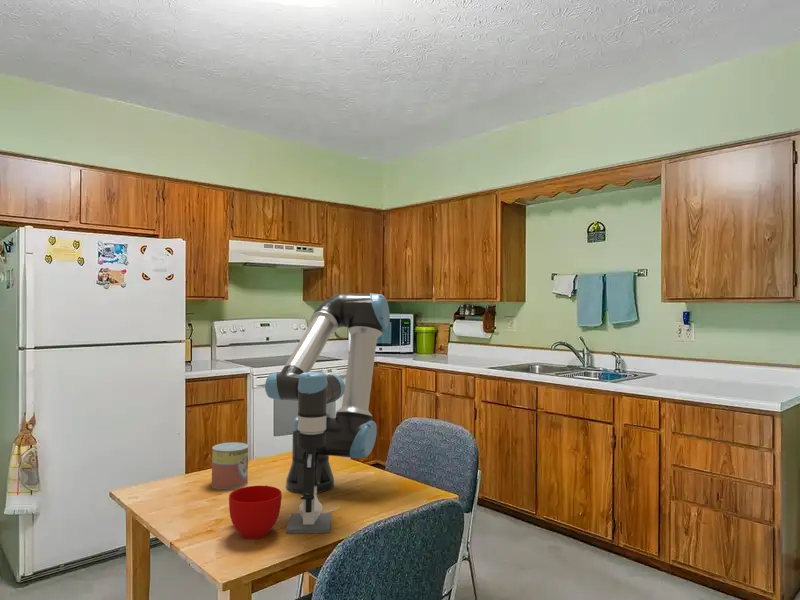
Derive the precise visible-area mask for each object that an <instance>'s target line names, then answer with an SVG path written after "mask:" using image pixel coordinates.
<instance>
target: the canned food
mask: <svg viewBox="0 0 800 600" xmlns="http://www.w3.org/2000/svg"><path fill="white" fill-rule="evenodd" d="M211 448H212V449H211V450H212V458H211V484H210V485H211V487H212V488H214V489H215V490H237V489H240V488H243V487H246V486H248V483H249V480H248V479H249V477H248V476H249V475H248V473H249V469H248V468H249V444H248V443H246V442H245V443H244V442H241V441H236V442H235V441H234V442H233V441H231V442H222V443H217V444H215V445H213V446H212V447H211Z"/></svg>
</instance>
